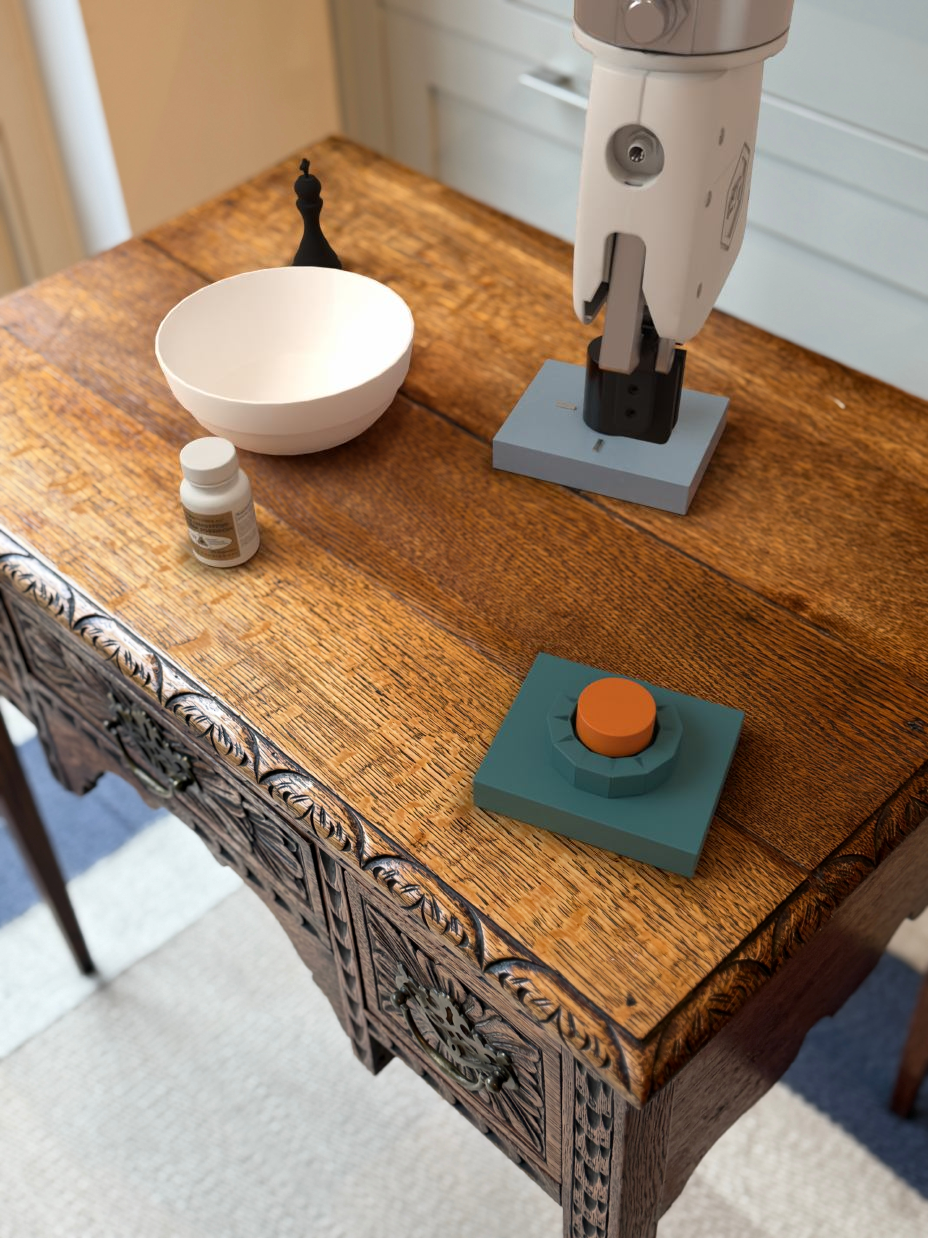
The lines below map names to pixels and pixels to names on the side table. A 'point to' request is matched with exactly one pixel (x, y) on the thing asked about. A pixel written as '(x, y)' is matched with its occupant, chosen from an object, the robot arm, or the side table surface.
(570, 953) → the side table surface
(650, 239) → the robot arm
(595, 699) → the button
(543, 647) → the side table surface
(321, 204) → the chess piece
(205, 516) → the pill bottle
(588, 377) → the dial knob
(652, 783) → the button block
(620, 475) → the dial base
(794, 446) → the side table surface
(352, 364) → the bowl
